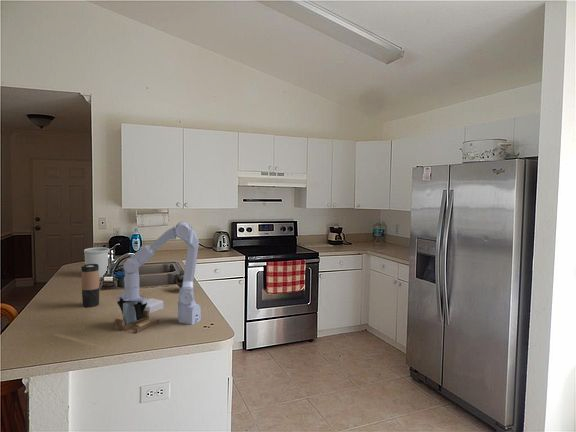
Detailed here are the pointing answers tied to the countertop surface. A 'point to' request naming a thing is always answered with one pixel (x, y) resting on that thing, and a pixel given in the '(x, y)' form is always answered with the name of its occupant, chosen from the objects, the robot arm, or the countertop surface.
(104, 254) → the utensil holder
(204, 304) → the countertop surface
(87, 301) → the travel mug
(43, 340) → the countertop surface
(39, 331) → the countertop surface
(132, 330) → the tray
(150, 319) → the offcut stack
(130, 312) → the board
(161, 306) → the charger
